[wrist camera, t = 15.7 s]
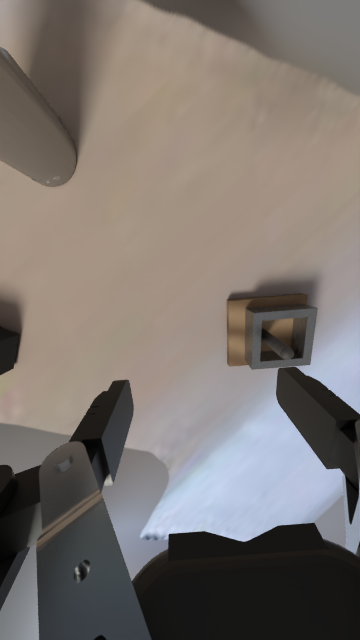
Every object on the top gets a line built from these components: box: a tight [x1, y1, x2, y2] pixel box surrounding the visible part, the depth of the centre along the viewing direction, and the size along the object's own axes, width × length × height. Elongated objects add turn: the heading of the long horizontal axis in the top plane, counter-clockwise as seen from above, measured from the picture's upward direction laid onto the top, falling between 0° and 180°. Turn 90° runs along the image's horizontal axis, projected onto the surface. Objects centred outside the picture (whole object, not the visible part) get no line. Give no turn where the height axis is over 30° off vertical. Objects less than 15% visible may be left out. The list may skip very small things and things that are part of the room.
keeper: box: [227, 294, 308, 366], centre depth 34 cm, size 14×15×12 cm
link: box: [245, 303, 317, 369], centre depth 36 cm, size 11×11×4 cm
